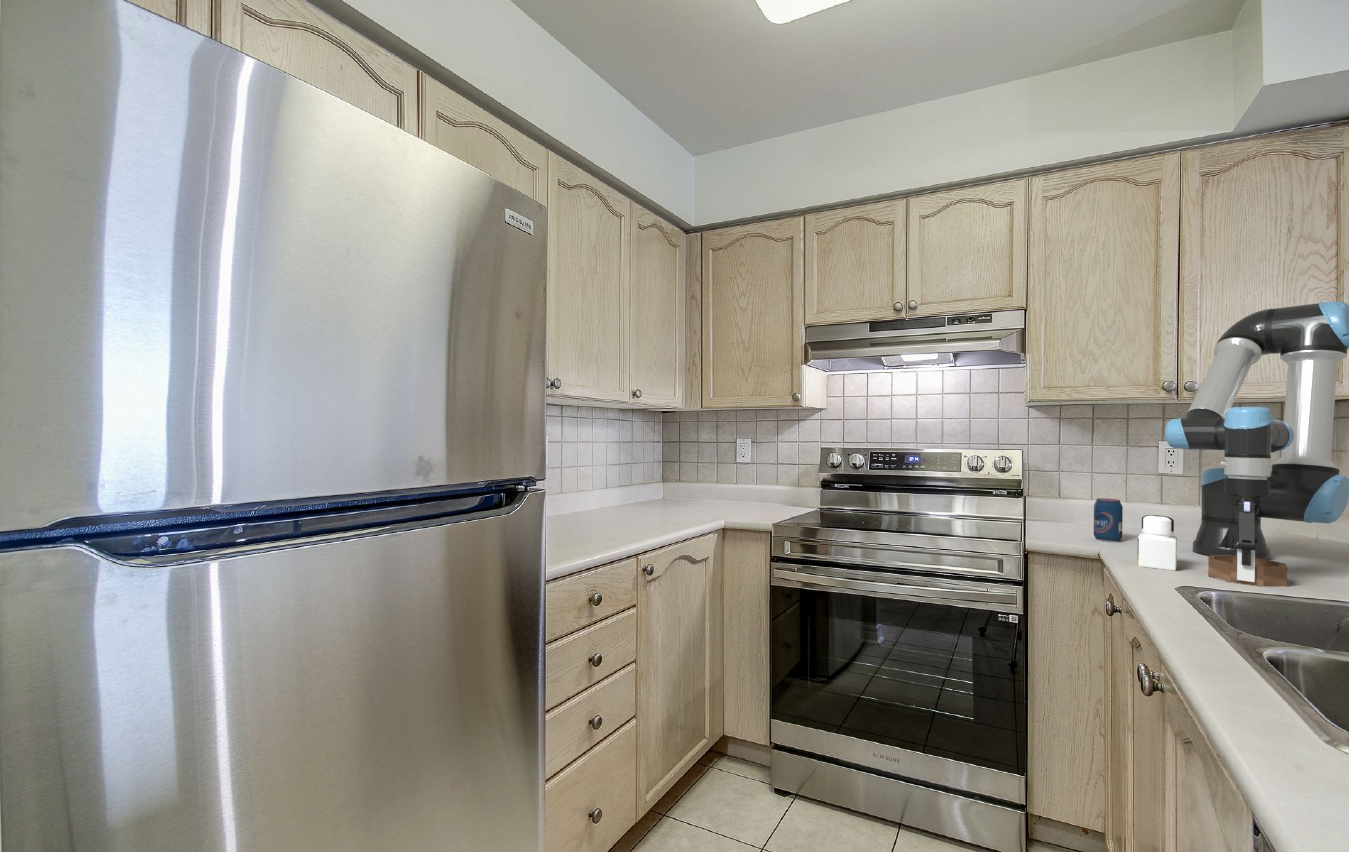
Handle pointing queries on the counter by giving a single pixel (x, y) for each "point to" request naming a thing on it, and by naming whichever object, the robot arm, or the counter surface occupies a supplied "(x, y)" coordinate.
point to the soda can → (1108, 520)
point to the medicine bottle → (1157, 543)
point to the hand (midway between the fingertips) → (1245, 576)
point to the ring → (1264, 570)
